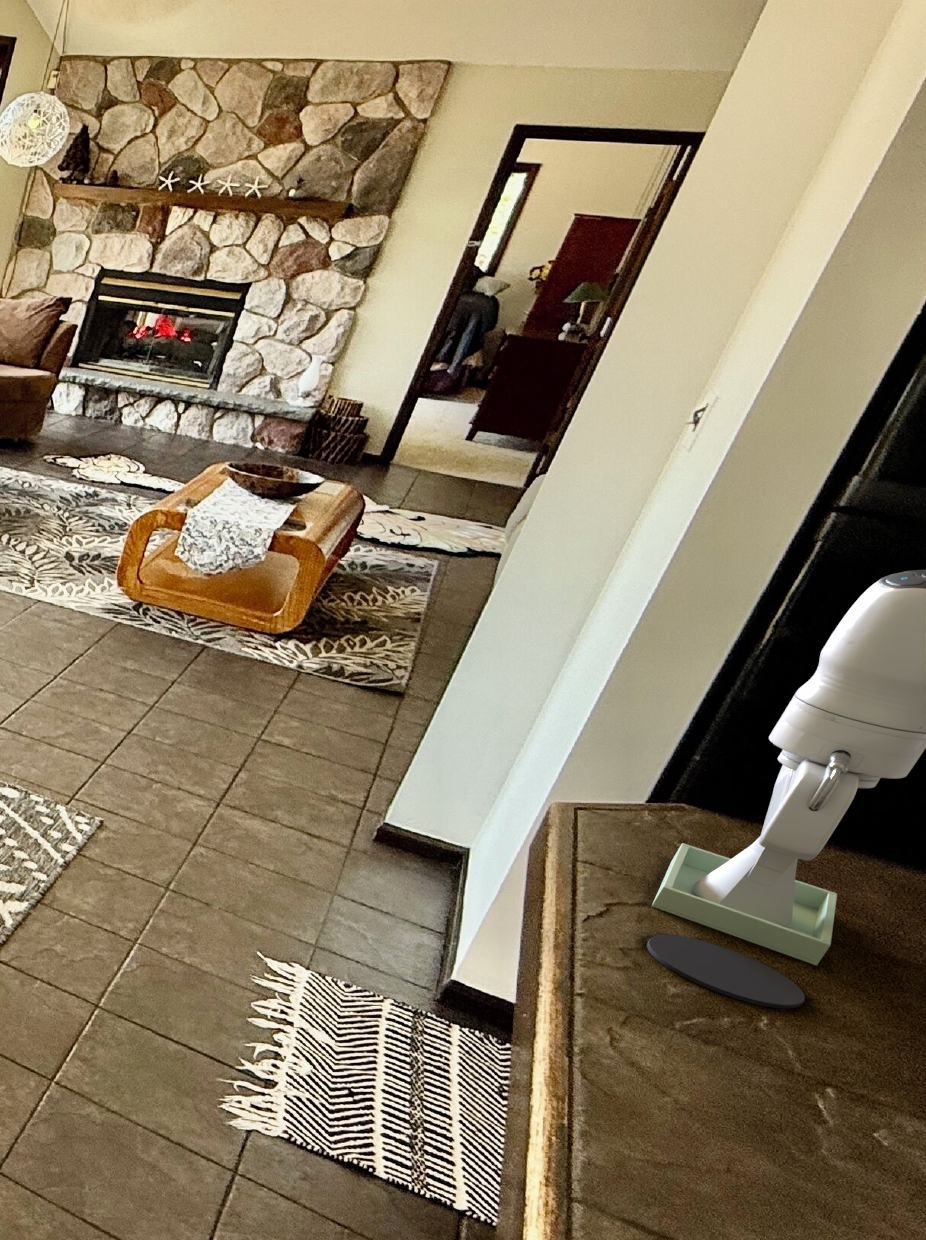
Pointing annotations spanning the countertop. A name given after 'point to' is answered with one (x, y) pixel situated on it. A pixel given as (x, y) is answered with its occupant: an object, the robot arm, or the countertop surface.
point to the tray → (797, 941)
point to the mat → (725, 971)
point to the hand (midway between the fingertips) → (763, 867)
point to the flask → (750, 888)
